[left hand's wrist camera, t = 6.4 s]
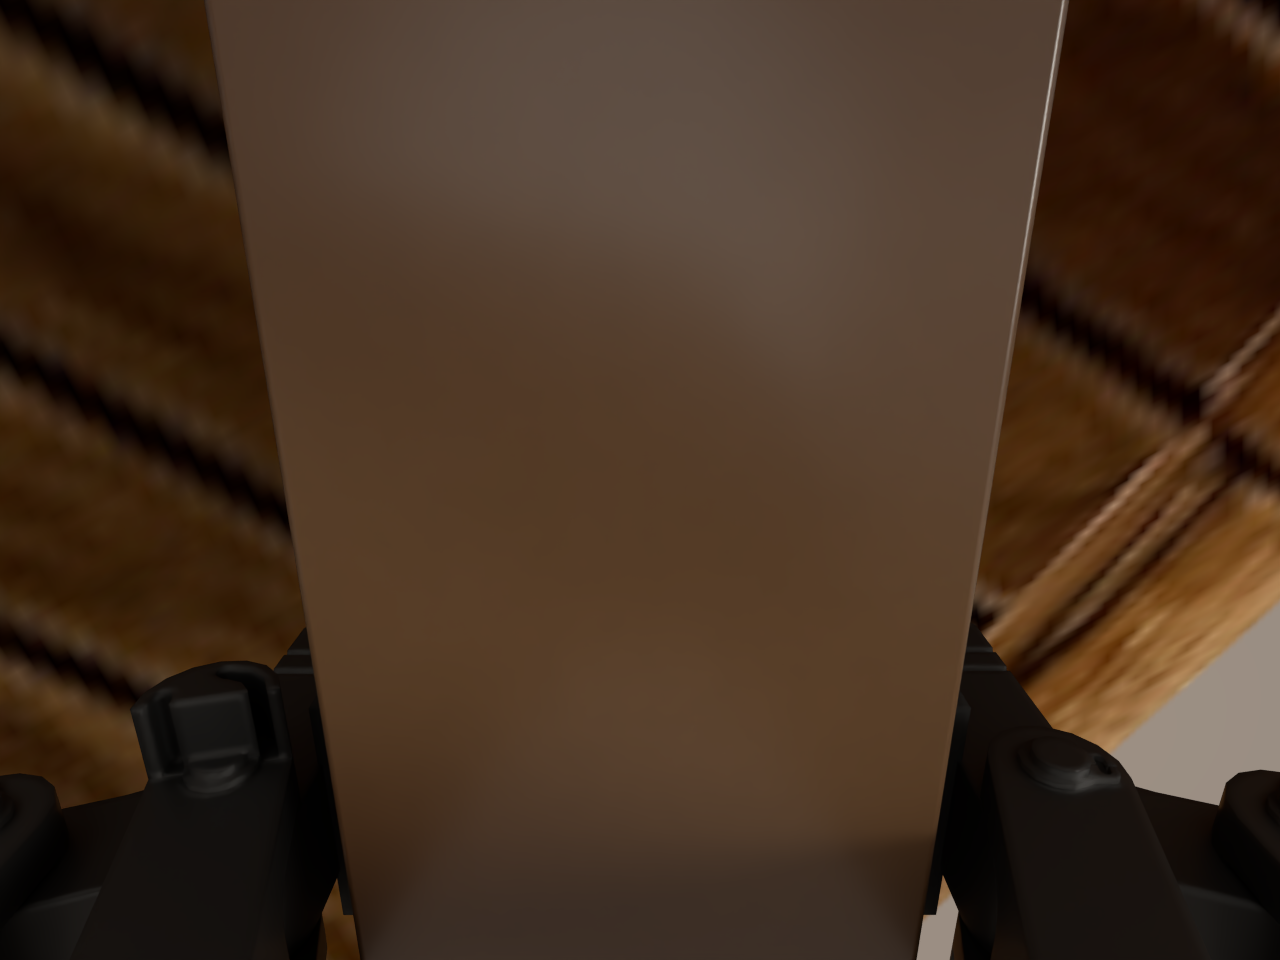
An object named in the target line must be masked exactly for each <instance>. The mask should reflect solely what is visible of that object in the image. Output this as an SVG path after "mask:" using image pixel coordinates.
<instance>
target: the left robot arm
mask: <svg viewBox="0 0 1280 960" xmlns="http://www.w3.org/2000/svg"><path fill="white" fill-rule="evenodd" d="M992 649H993V648H992V647H991V645H990V644H989V643H988V641H987V640H986V638H985V637H984V636H983V634H982V633H981V632H980V630H979V629H978V628H977V626H976V625H974V624H972V623H971V622H970V626H969V632H968V639H967V645H966V651H965V657H964V664H963V670H962V676H961V683H960V689H959V695H958V701H957V708H956V714H955V720H954V727H953V733H952V739H951V745H950V752H949V758H948V764H947V770H946V777H945V783H944V789H943V796H942V802H941V808H940V814H939V821H938V827H937V833H936V840H935V846H934V852H933V858H932V865H931V871H930V877H929V884H928V890H927V896H926V902H925V909H924V915H936V912H937V906H938V900H939V894H940V888H941V882H942V876H944V878H945V881H946V883H947V885H948V888H949V890H950V892H951V894H952V897H953V899H954V901H955V904H956V906H957V908H958V911H959V912H958V917H957V923H956V928H955V934H954V939H953V945H952V950H951V956H950V960H1280V772H1275V771H1267V770H1255V771H1249V772H1242V773H1238V774H1237V775H1235V776H1234V777H1233V778H1232V779H1230V780H1229V781H1228V782H1227V783H1226V785H1225V788H1224V791H1223V795H1222V798H1221V801H1220V804H1219V806H1218V805H1214V804H1209V803H1204V802H1199V801H1195V800H1190V799H1185V798H1181V797H1176V796H1171V795H1167V794H1162V793H1157V792H1153V791H1149V790H1146V789H1142V788H1139V787H1135V785H1134V783H1133V781H1132V779H1131V777H1130V776H1129V774H1128V773H1127V772H1126V770H1125V769H1124V768H1123V766H1122V765H1121V764H1120V762H1119V761H1118V760H1117V759H1115V758H1114V757H1113V756H1111V755H1110V754H1109V753H1107V752H1106V751H1105V750H1103V749H1102V748H1101V747H1099V746H1098V745H1096V744H1094V743H1092V742H1089V741H1087V740H1085V739H1083V738H1081V737H1079V736H1076V735H1074V734H1072V733H1068V732H1064V731H1060V730H1056V729H1053V728H1052V727H1051V725H1050V724H1049V723H1048V721H1047V720H1046V719H1045V717H1044V716H1043V715H1042V713H1041V712H1040V711H1039V709H1038V708H1037V707H1036V705H1035V704H1034V703H1033V701H1032V700H1031V699H1030V697H1029V696H1028V695H1027V693H1026V692H1025V691H1024V689H1023V688H1022V687H1021V685H1020V684H1019V683H1018V681H1017V680H1016V679H1015V677H1014V676H1013V675H1012V673H1011V672H1010V671H1007V670H1006V665H1005V664H1004V663H1003V661H1002V660H1001V659H1000V657H999V656H998V655H997V653H996V652H993V650H992ZM130 710H131V714H132V718H133V722H134V726H135V730H136V733H137V737H138V741H139V745H140V749H141V753H142V756H143V760H144V764H145V768H146V772H147V775H148V779H149V780H148V782H147V784H146V787H145V789H144V790H143V791H139V792H136V793H132V794H129V795H125V796H121V797H116V798H111V799H107V800H102V801H97V802H93V803H88V804H83V805H78V806H74V807H69V808H64V809H61V806H60V803H59V800H58V797H57V793H56V790H55V787H54V786H53V785H52V784H51V783H49V782H48V781H47V780H46V779H44V778H43V777H41V776H34V775H27V774H20V773H19V774H11V775H3V776H0V960H326V954H327V942H326V935H325V928H324V923H323V917H322V911H323V909H324V907H325V904H326V902H327V900H328V897H329V895H330V893H331V891H332V888H333V886H334V884H335V881H336V879H338V885H339V891H340V897H341V903H342V909H343V915H353V910H352V904H351V898H350V892H349V886H348V879H347V873H346V867H345V861H344V855H343V849H342V843H341V837H340V830H339V824H338V818H337V812H336V806H335V800H334V794H333V788H332V781H331V775H330V769H329V763H328V757H327V751H326V745H325V738H324V732H323V726H322V720H321V714H320V708H319V702H318V696H317V689H316V683H315V677H314V671H313V665H312V659H311V653H310V647H309V640H308V634H307V628H304V629H303V631H302V632H301V633H300V635H299V636H298V637H297V639H296V640H295V641H294V643H293V644H292V645H291V647H290V648H289V649H288V653H287V655H284V656H283V657H282V659H281V660H280V661H279V663H278V664H277V666H276V667H275V668H274V671H273V670H272V669H270V668H269V667H268V666H267V665H263V664H259V663H254V662H250V661H223V662H217V663H212V664H208V665H203V666H199V667H194V668H191V669H189V670H186V671H184V672H181V673H179V674H176V675H174V676H171V677H169V678H166V679H165V680H163V681H162V682H160V683H159V684H157V685H156V686H154V687H153V688H151V689H149V690H148V691H146V692H145V693H144V694H143V695H142V696H141V697H140V698H139V699H138V701H137V702H136V703H135V704H134V705H133V706H132V708H131V709H130Z"/></svg>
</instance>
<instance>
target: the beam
mask: <svg viewBox="0 0 1280 960" xmlns="http://www.w3.org/2000/svg"><path fill="white" fill-rule="evenodd" d="M204 3H205V9H206V16H207V22H208V28H209V34H210V40H211V46H212V52H213V58H214V65H215V71H216V77H217V83H218V89H219V95H220V101H221V107H222V114H223V120H224V126H225V132H226V138H227V144H228V150H229V156H230V163H231V169H232V175H233V181H234V187H235V193H236V199H237V205H238V212H239V218H240V224H241V230H242V236H243V242H244V248H245V254H246V261H247V267H248V273H249V279H250V285H251V291H252V297H253V303H254V310H255V316H256V322H257V328H258V334H259V340H260V346H261V352H262V359H263V365H264V371H265V377H266V383H267V389H268V395H269V402H270V408H271V414H272V420H273V426H274V432H275V438H276V444H277V451H278V457H279V463H280V469H281V475H282V481H283V487H284V493H285V500H286V506H287V512H288V518H289V524H290V530H291V536H292V542H293V549H294V555H295V561H296V567H297V573H298V579H299V585H300V591H301V598H302V604H303V610H304V616H305V622H306V628H307V634H308V640H309V647H310V653H311V659H312V665H313V671H314V677H315V683H316V689H317V696H318V702H319V708H320V714H321V720H322V726H323V732H324V738H325V745H326V751H327V757H328V763H329V769H330V775H331V781H332V788H333V794H334V800H335V806H336V812H337V818H338V824H339V830H340V837H341V843H342V849H343V855H344V861H345V867H346V873H347V879H348V886H349V892H350V898H351V904H352V910H353V916H354V922H355V928H356V935H357V941H358V947H359V953H360V959H361V960H916V959H917V953H918V946H919V940H920V934H921V928H922V921H923V915H924V909H925V902H926V896H927V890H928V884H929V877H930V871H931V865H932V858H933V852H934V846H935V840H936V833H937V827H938V821H939V814H940V808H941V802H942V796H943V789H944V783H945V777H946V770H947V764H948V758H949V752H950V745H951V739H952V733H953V727H954V720H955V714H956V708H957V701H958V695H959V689H960V683H961V676H962V670H963V664H964V657H965V651H966V645H967V639H968V632H969V626H970V620H971V613H972V607H973V601H974V595H975V588H976V582H977V576H978V569H979V563H980V557H981V551H982V544H983V538H984V532H985V525H986V519H987V513H988V507H989V500H990V494H991V488H992V481H993V475H994V469H995V463H996V456H997V450H998V444H999V437H1000V431H1001V425H1002V419H1003V412H1004V406H1005V400H1006V394H1007V387H1008V381H1009V375H1010V368H1011V362H1012V356H1013V350H1014V343H1015V337H1016V331H1017V324H1018V318H1019V312H1020V306H1021V299H1022V293H1023V287H1024V280H1025V274H1026V268H1027V262H1028V255H1029V249H1030V243H1031V236H1032V230H1033V224H1034V218H1035V211H1036V205H1037V199H1038V192H1039V186H1040V180H1041V174H1042V167H1043V161H1044V155H1045V148H1046V142H1047V136H1048V130H1049V123H1050V117H1051V111H1052V105H1053V98H1054V92H1055V86H1056V79H1057V73H1058V67H1059V61H1060V54H1061V48H1062V42H1063V35H1064V29H1065V23H1066V17H1067V10H1068V4H1069V0H204Z"/></svg>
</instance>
